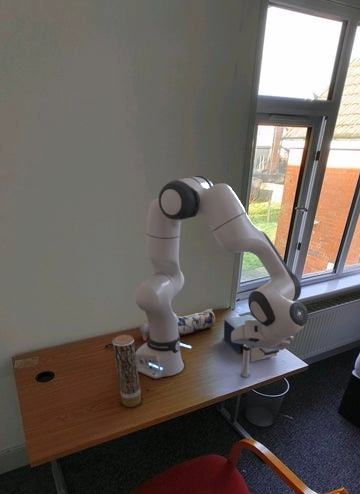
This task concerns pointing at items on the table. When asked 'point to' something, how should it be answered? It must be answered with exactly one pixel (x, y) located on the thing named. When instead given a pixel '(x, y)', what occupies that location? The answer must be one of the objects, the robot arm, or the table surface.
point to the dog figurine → (144, 329)
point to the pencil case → (195, 322)
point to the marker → (245, 361)
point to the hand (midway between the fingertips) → (249, 346)
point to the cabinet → (232, 325)
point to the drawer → (261, 353)
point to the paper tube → (127, 370)
